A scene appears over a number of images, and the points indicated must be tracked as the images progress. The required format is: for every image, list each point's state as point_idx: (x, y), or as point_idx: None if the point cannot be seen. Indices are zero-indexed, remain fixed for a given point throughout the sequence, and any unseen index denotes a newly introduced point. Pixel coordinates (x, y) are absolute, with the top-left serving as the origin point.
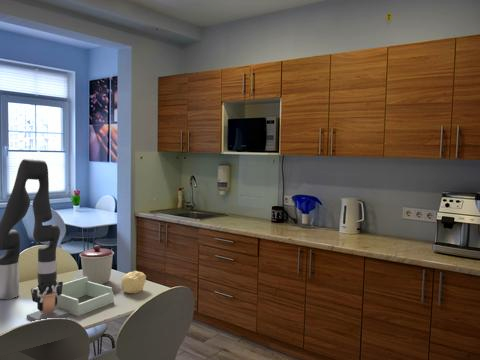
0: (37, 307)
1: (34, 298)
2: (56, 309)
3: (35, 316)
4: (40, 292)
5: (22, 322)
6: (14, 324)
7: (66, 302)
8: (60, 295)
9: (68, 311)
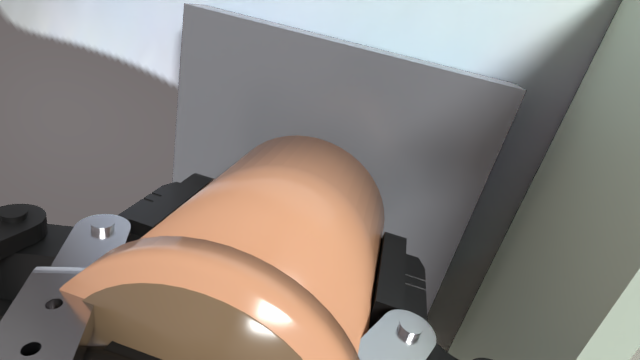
0: (156, 191)
1: None
2: (438, 214)
3: (204, 132)
4: (39, 339)
5: (129, 47)
6: (67, 10)
7: (507, 354)
8: (604, 303)
9: (475, 306)
